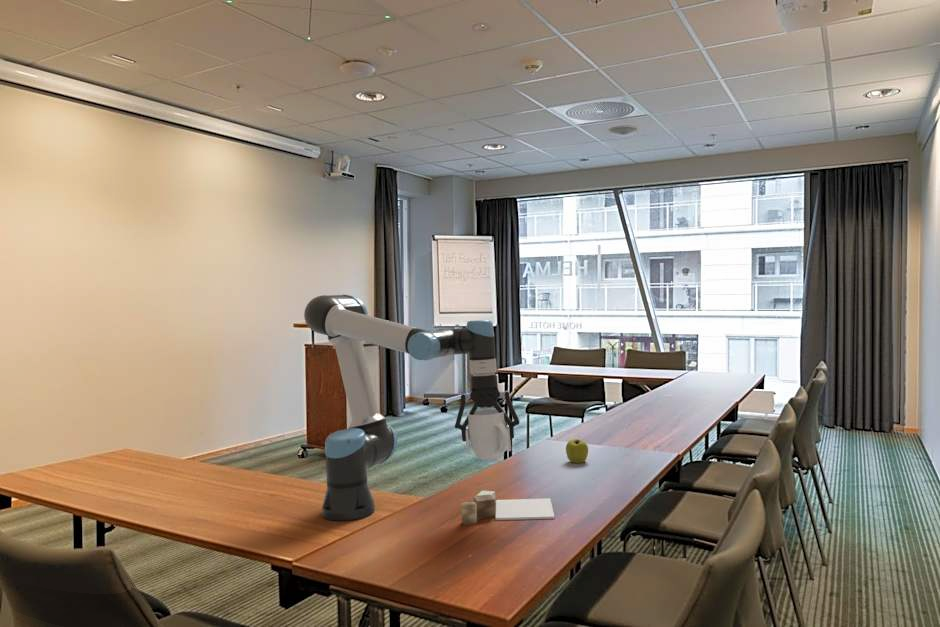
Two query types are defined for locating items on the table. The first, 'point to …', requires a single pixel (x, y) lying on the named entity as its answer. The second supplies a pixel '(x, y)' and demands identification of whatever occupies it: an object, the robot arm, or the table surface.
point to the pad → (524, 509)
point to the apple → (577, 450)
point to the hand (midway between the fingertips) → (489, 451)
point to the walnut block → (485, 506)
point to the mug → (488, 433)
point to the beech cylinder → (469, 513)
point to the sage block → (487, 493)
